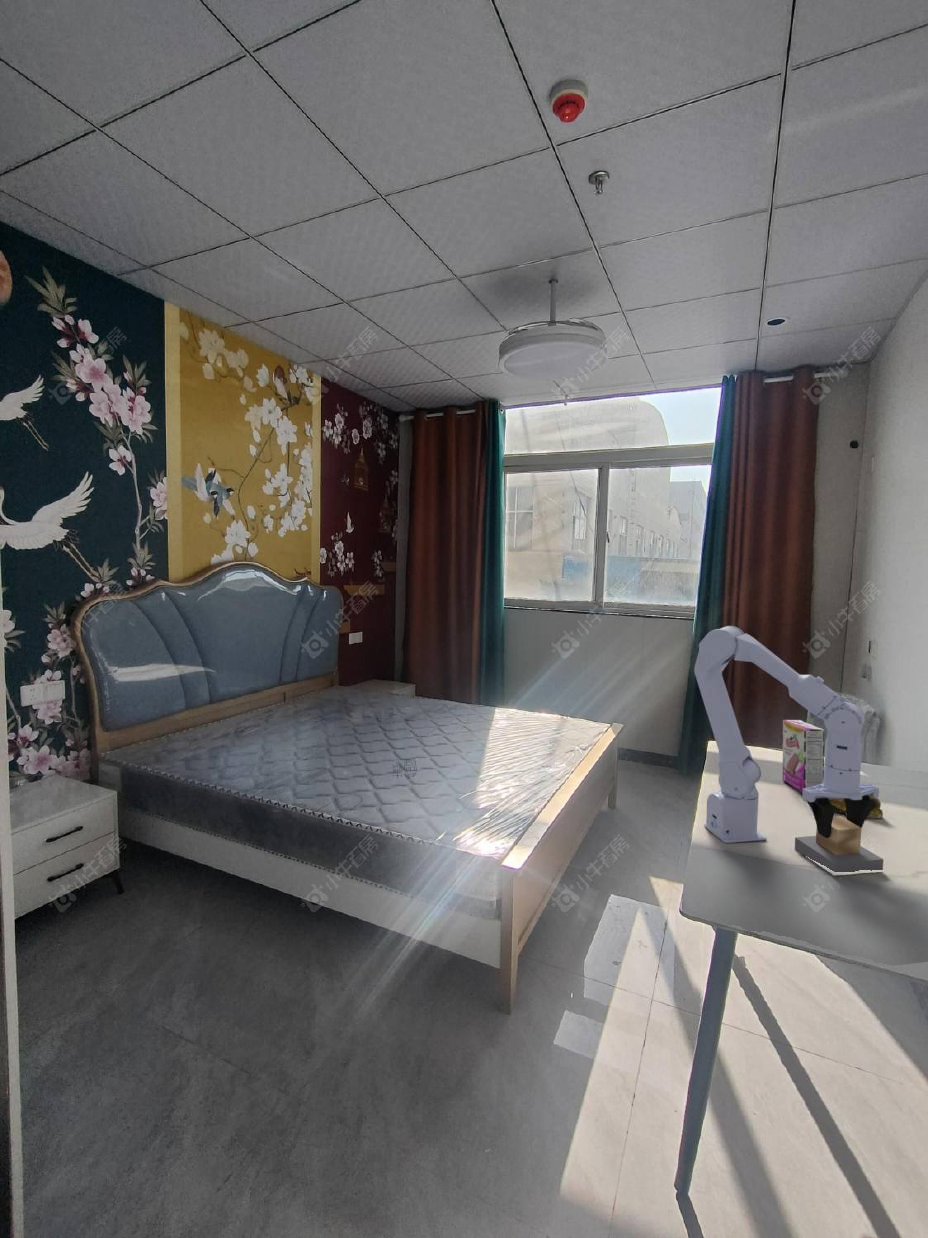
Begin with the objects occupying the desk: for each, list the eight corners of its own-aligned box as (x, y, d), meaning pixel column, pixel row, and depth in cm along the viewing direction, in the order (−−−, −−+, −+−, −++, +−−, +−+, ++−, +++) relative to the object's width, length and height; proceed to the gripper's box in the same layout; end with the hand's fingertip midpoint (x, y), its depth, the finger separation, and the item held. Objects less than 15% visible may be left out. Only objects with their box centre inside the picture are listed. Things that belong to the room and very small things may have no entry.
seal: (801, 805, 133) (878, 828, 122) (802, 788, 132) (879, 809, 121) (813, 788, 139) (887, 809, 128) (814, 771, 138) (888, 791, 127)
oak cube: (835, 855, 104) (837, 830, 104) (815, 842, 109) (817, 817, 109) (859, 853, 105) (861, 828, 104) (838, 840, 110) (840, 816, 109)
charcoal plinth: (834, 876, 102) (834, 863, 101) (794, 849, 112) (795, 837, 111) (882, 872, 103) (883, 859, 103) (839, 845, 113) (840, 834, 113)
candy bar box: (780, 781, 147) (781, 719, 147) (800, 781, 147) (801, 719, 147) (803, 795, 136) (804, 728, 136) (825, 795, 136) (826, 729, 135)
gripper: (824, 775, 101) (820, 847, 102) (895, 771, 103) (890, 841, 104) (795, 762, 108) (792, 829, 109) (862, 758, 110) (858, 824, 111)
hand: (838, 834), depth 107 cm, fingers open, 6 cm apart
